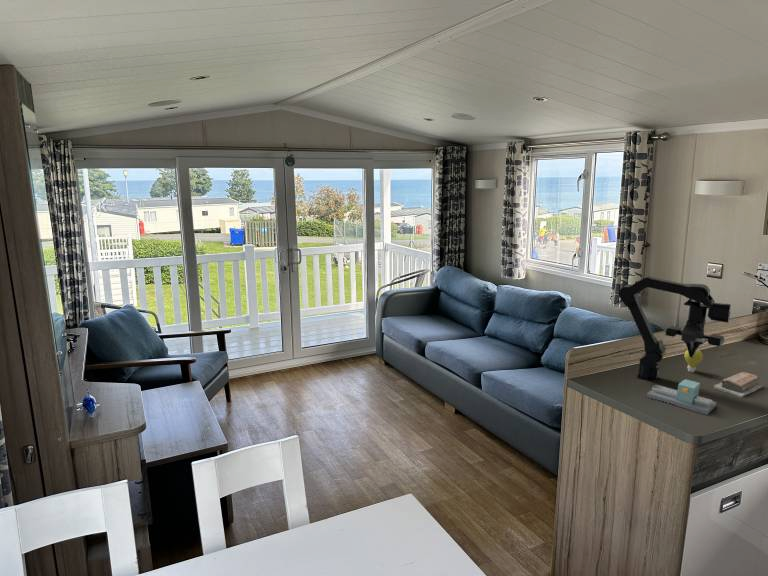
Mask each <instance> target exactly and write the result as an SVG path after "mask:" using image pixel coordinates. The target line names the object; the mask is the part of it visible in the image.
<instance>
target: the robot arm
mask: <svg viewBox="0 0 768 576" xmlns="http://www.w3.org/2000/svg"><path fill="white" fill-rule="evenodd" d="M647 288H650V289H655V290H660V291H662V292H669V293H672V294H673V293H674V294H678V295H681V296H682V297H685V298H686V299H688V300H686V301H685V302H684V303H683V305H684V306H687V307H689V308H688V316H687V320H686V322H685V323H686V324H685V325H684V327H683V328H682V327H679V326H675V325H674V326H673V325H671V326H669V327H668V328H666V329H665V334H664V335H665V336H666V337H667V336H668V337H672V338H674V337H676V336H680V337H681V338H680V340H681V341H683V342H684V343H685V345H686V347H687V349H686V350H688V353H689V356H690V357H693V356H694V354H695V352H696V351H697V349H698V350H699V348H700V347H701V345H703V344H706V342H707V343H708V344H709V346H710V345H711V346H714V347H720V346H722V345H723V344H725V343H724V342H725V337H724V336H723V335H720V334H719V335H718V334H716V333H715V334H714V333H711V334H710V335H707V334H705V326H706V321H707V320H706V317H707V318H709V319H710V321H714V322H721V323H728V324H729V323H730V317H731V306H732V305H731V304H730V303H721V302H715V300H714V298H713V297H712V295H711V290H710V288H709V286H708V285H706V284H703V283H682V282H681V283H680V282H676V281H672V280H667V279H661V278H657V277H652V276H651V275H650V276H649V275H646V276H644V277H643V278H642V279H640V280H638V281H637V282H635V283H633V284H625V286H623V287H620V289H619V290H618V296H619V299H620V300H621V302H622V303H623V305H624V306H625V307H626V308H628V311H630V314H631V316H632V319H633V320H634V322H635V325H636V328H637V329H638V331H639V333H640V336H641V338H642V340H643V345H644V351H645V353H644V354H643V355H642V357H640V359H639V366H638V373H637V375H636V378H638V379H639V378H640V379H643V380H647V381H650V382H655V381H656V380H657V379H659V377H660V376H659V375H660V367H659V363H660V362H661V361H662V360H663V358H664V357H665V356H666V353H667V352H666V350H667V347H665V344H664V341H663V339H657V338H656V336H655V334H654V332H653V330H652V327H651V325H650V324H649V321H648V319H647V317H646V315H645V313H644V310H643V308H642V306H641V301H640V295H639V293H640V292H641V291H643V290H645V289H647Z"/></svg>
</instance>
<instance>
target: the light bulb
mask: <svg viewBox="0 0 768 576" xmlns="http://www.w3.org/2000/svg"><path fill="white" fill-rule="evenodd" d="M703 358H704V355H703V352H702V351H701V350H700V349H699V348H698V349H697V351H696V352H695V354H694V356H693V357H690V356H689V353H688V349H686V351H685V352H684V359H685V361H686V363H687V368H686V369H687V371H688V372H689V371H690V372H689V373H695V371H696V370H697V366H698V365H699V364H700V363H701V362H702V361H703Z"/></svg>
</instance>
